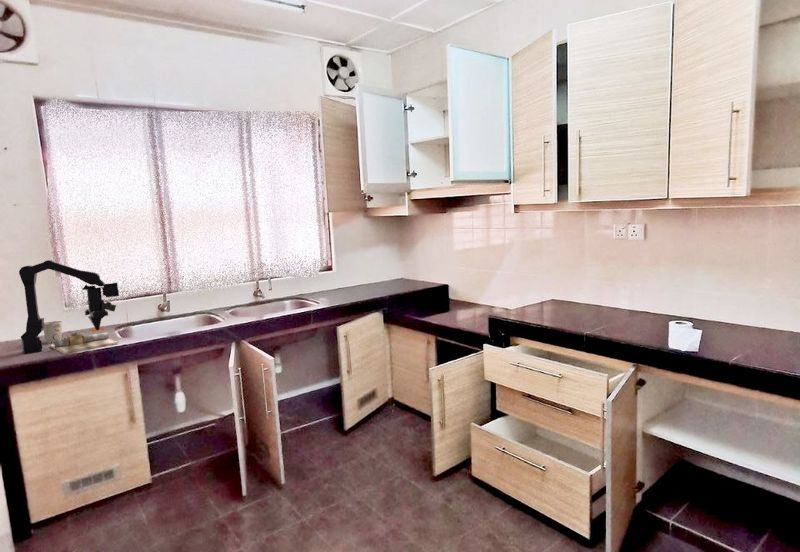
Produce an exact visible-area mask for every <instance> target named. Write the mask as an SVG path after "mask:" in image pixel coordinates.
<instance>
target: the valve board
mask: <svg viewBox="0 0 800 552" xmlns="http://www.w3.org/2000/svg"><path fill="white" fill-rule="evenodd" d="M118 342H119V341H116V340H113V339H110V338H109V333H108V331H106V332H102V333H101V332H100V333H94V334H90V335H85V334H83V335H82V334H81V333H77V335H71V334H68V335H66V337H64V338H63V339H61V340H57V341H54V343H52V344H49V348H50V349H54V350H55V351H58V352H60V353H61V354H69V353H70V354H71V353H75V352H81V351H87V350H91V349H98V348H103V347H102V346H104V347H108V346H107V345H110V346H113V345H112V344H115V345H118V344H119V343H118ZM117 343H118V344H117Z"/></svg>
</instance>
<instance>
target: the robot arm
mask: <svg viewBox="0 0 800 552" xmlns="http://www.w3.org/2000/svg"><path fill="white" fill-rule="evenodd" d="M46 270H50V271H55V272H57V273H60V274H61V273H62V274H64V275H67V276H70V277H73V278H76V279H78V280H80V281H82V282H84V283H86V284H85V285H84V286H83V288H82V289H81V290H83V291H86V292H87V294H86V295H87V301H86V303H87V305H88V309H87V308H86V309H85V311H84V316H88V318H87V319H89V321H90V323H91V324H92V326H93V328H94V327H95V329H96V330H99V328H100V327H101V323H102V319H103V318H104V317H107V316H109V311H110V312H115V310H116V307H117V305H115V304H112V302H111V301H107V302H105V301H104V299H103V298H102V296H103V297H105V298H113V297H120V291H119V286H118V282H113V283H105V282H104V281H103V280H102V279H101V276H100V274H98V273H97V272H95V271H88V270H81V269H77V268H75V267H71V266H68V265H65V264H62V263H60V262H55V261H53V260H49V259H47V260H45V261H43V262H40V263H37V264H34V265H25V266H22V267H20V269H19V272H18V274H19V277H20V280H21V282H22V284H23V287H24V294H25V301H26V311H27V320H26V327H25V332H23V334H22V335H21V336H20V338H21V347H22V350H21V353H23V354H24V355H25V354H26V355H27V354H32V353H37V352H42V351H43V345H42V344H43V343H42V340H41V339H40V337H39V335H40V334H41V333H42V332H44V331H43V328H44V327H45V325H44V323H45V317H42V318H41V317H40V315H39V307H38V298H37V297H38V296H37V290H36V283H37V276H38V273H41V272H45V271H46ZM96 286H98V287H96Z"/></svg>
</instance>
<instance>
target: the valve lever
mask: <svg viewBox="0 0 800 552" xmlns="http://www.w3.org/2000/svg"><path fill="white" fill-rule="evenodd" d="M98 331H99V332H100V331H104V326H100V328H99V330H96V329H95V327H94V326H93V327H91V328H83V329H77V330H73V332H70V335H77V334H80V333H88V332H98Z"/></svg>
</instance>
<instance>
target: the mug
mask: <svg viewBox="0 0 800 552" xmlns="http://www.w3.org/2000/svg"><path fill="white" fill-rule="evenodd" d="M44 325H45V327H44V328H43V331H42V332H43V334H44V338H45V342H46V344H51V343H50V342H54V341H57V340H62V334H63V333H62V331H63V321H61V320H57V321H55V320H54V321H53V320H52V321H48V322H44Z"/></svg>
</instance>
